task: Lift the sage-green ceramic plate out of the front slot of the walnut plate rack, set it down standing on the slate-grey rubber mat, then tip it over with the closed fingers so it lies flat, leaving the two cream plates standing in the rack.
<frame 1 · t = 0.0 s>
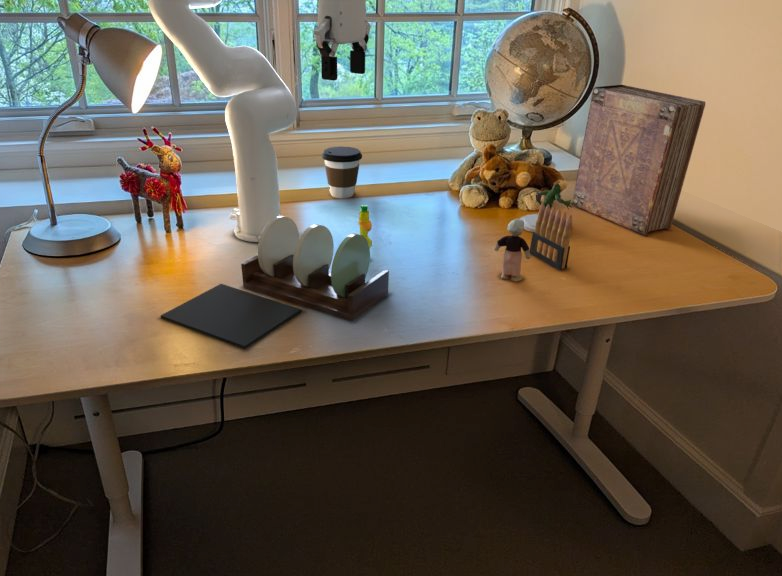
hand: (343, 76, 123), 37 cm above the table, tool pointing down, fingers open, 9 cm apart
monster figurine: (542, 226, 160), on the table
cream plate 2: (279, 246, 127), point 7 cm above the table, touching plate rack
green plate: (351, 266, 119), point 7 cm above the table, touching plate rack
book: (618, 217, 166), on the table
plate rack: (315, 291, 127), on the table
mat: (232, 315, 118), on the table
ammunition clip: (547, 261, 142), on the table
cream plate 1: (314, 256, 123), point 7 cm above the table, touching plate rack
toy figure: (364, 260, 140), on the table
coffee cup: (342, 195, 178), on the table
grandmother figurine: (508, 278, 134), on the table
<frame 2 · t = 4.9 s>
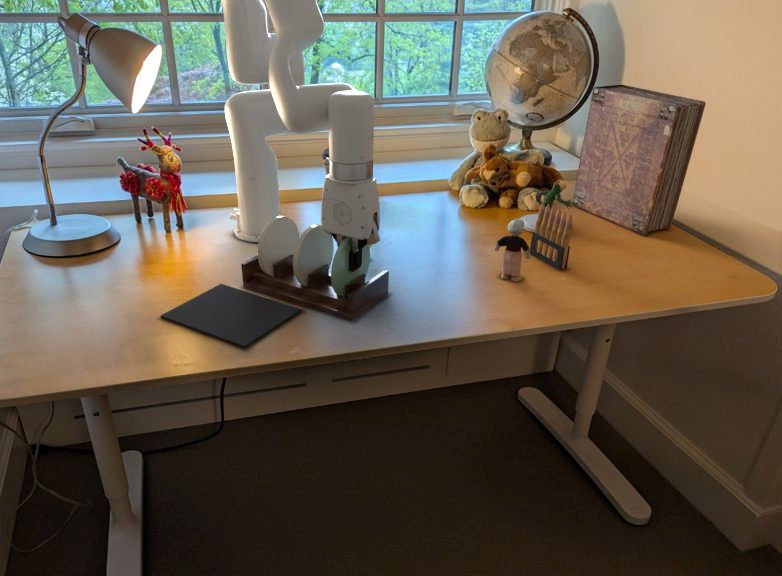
hand: (351, 267, 119), 7 cm above the table, tool pointing down, fingers closed on green plate, 1 cm apart
green plate: (351, 266, 119), point 7 cm above the table, touching gripper, plate rack
everything else where it was.
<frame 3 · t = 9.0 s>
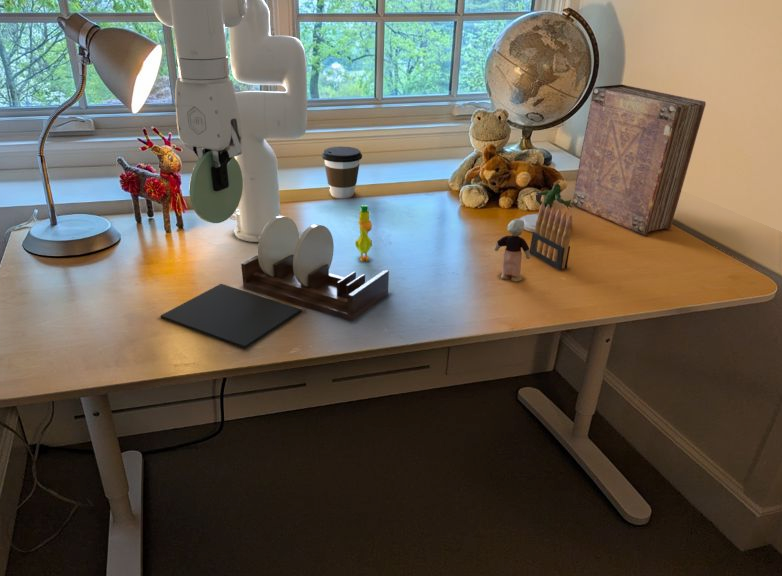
hand: (217, 187, 108), 23 cm above the table, tool pointing down, fingers closed on green plate, 1 cm apart
green plate: (217, 187, 108), point 23 cm above the table, touching gripper
everything else where it was.
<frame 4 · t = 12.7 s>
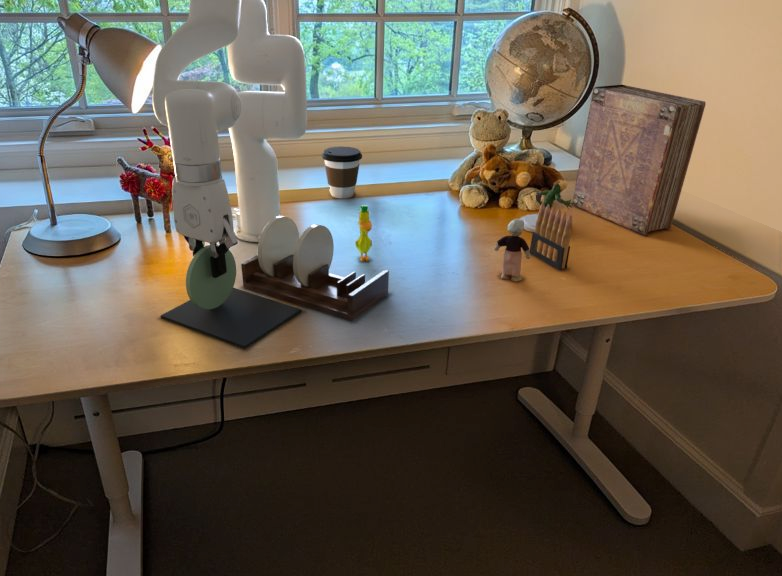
hand: (211, 271, 116), 8 cm above the table, tool pointing down, fingers open, 3 cm apart
green plate: (212, 277, 116), point 7 cm above the table, touching mat
everything else where it was.
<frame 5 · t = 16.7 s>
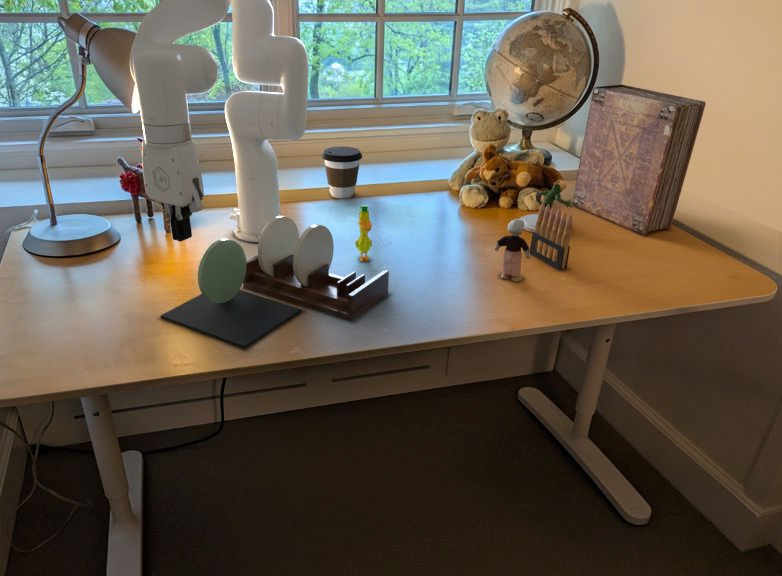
hand: (182, 238, 115), 13 cm above the table, tool pointing down, fingers closed
green plate: (223, 271, 118), point 7 cm above the table, tilted 28°, touching mat
everything else where it was.
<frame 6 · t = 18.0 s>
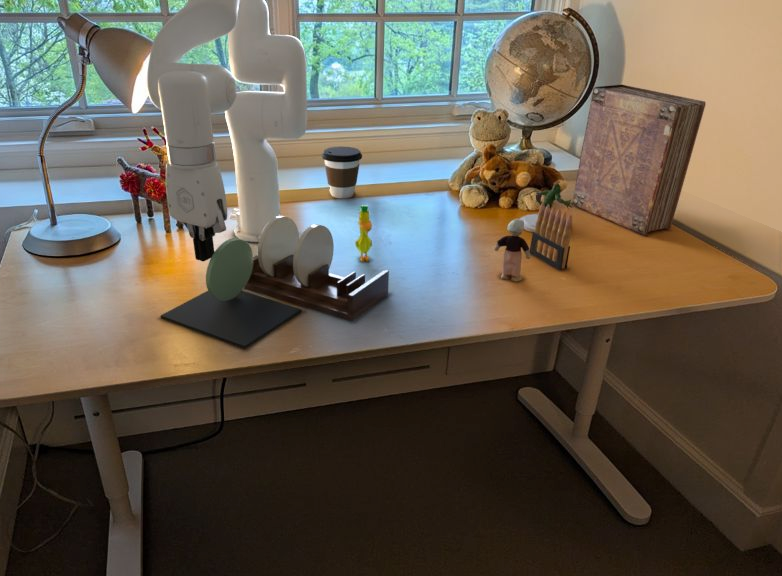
hand: (205, 257, 115), 10 cm above the table, tool pointing down, fingers closed
green plate: (230, 269, 119), point 7 cm above the table, tilted 41°, touching mat
everything else where it was.
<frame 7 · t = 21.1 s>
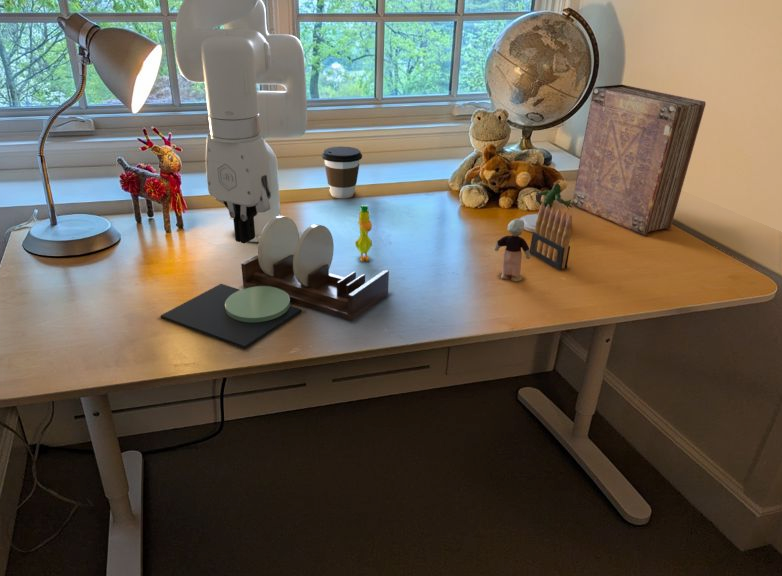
hand: (245, 239, 108), 16 cm above the table, tool pointing down, fingers closed
green plate: (257, 303, 119), point 1 cm above the table, tilted 88°, touching mat, plate rack
everything else where it was.
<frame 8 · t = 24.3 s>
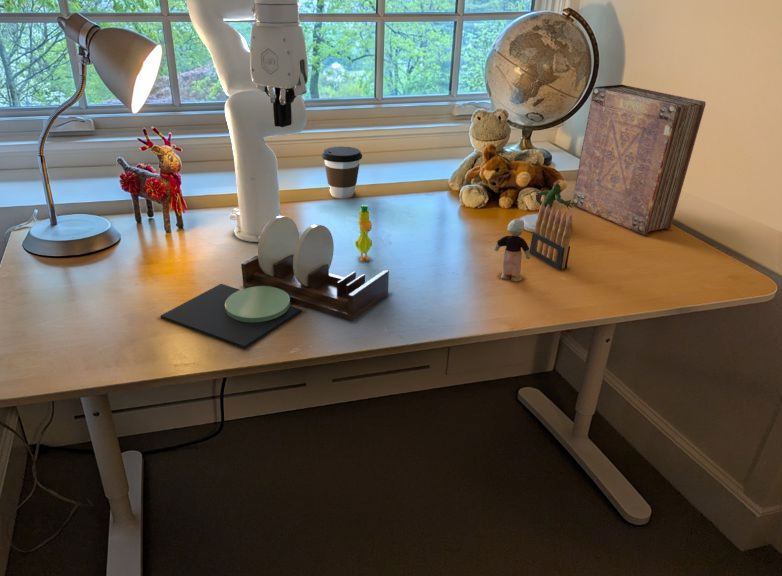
hand: (283, 125, 121), 29 cm above the table, tool pointing down, fingers closed
nothing on the table moved.
at the end: green plate inside the target area on the mat (5.0 cm from its centre), point 1.4 cm above the mat's base; cream plate 1 moved 0.0 cm from its start; cream plate 2 moved 0.0 cm from its start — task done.
